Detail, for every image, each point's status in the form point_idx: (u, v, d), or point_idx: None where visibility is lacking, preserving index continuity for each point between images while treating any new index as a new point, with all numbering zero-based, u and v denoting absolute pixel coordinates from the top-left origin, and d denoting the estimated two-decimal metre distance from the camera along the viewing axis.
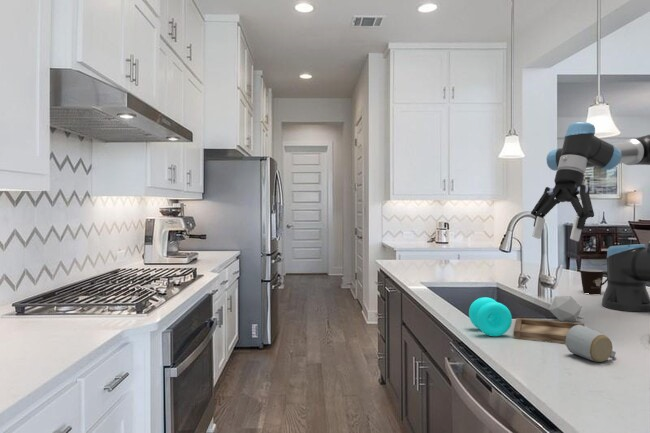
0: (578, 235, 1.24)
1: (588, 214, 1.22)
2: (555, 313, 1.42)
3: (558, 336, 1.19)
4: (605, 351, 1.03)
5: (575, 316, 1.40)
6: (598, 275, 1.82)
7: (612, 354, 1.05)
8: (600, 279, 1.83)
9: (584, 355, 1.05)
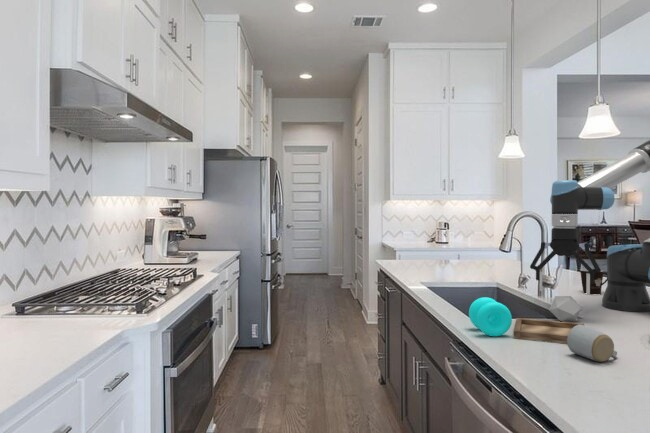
0: None
1: (599, 271, 1.38)
2: (555, 313, 1.42)
3: (558, 336, 1.19)
4: (607, 351, 1.03)
5: (575, 316, 1.40)
6: (598, 275, 1.82)
7: (614, 354, 1.05)
8: (600, 279, 1.83)
9: (586, 355, 1.05)
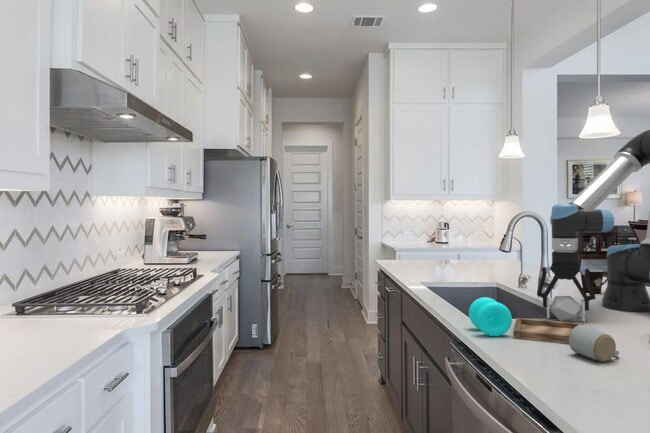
0: None
1: (594, 298, 1.39)
2: (555, 313, 1.42)
3: (558, 336, 1.19)
4: (609, 350, 1.03)
5: (575, 316, 1.40)
6: (598, 275, 1.82)
7: (615, 354, 1.05)
8: (600, 279, 1.83)
9: (587, 355, 1.05)
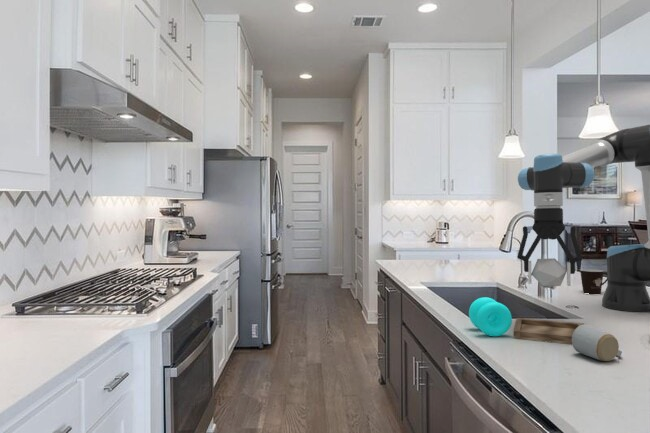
0: None
1: (580, 260, 1.23)
2: (537, 277, 1.27)
3: (558, 336, 1.19)
4: (612, 350, 1.03)
5: (559, 280, 1.24)
6: (598, 275, 1.82)
7: (618, 353, 1.05)
8: (600, 279, 1.83)
9: (590, 354, 1.05)
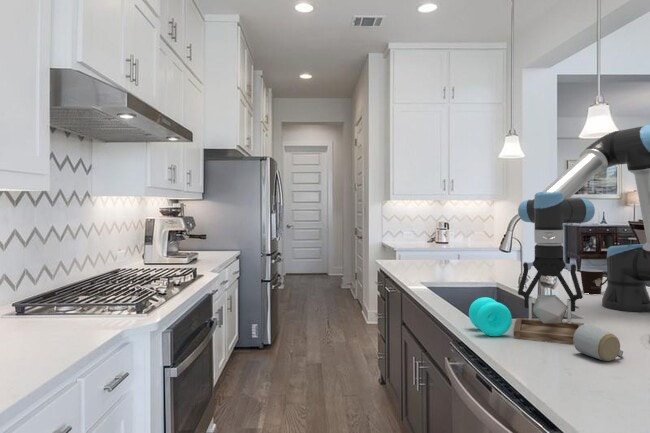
0: None
1: None
2: (538, 314, 1.27)
3: (558, 336, 1.19)
4: (613, 350, 1.04)
5: (560, 317, 1.24)
6: (598, 275, 1.82)
7: (620, 353, 1.05)
8: (600, 279, 1.83)
9: (592, 354, 1.05)
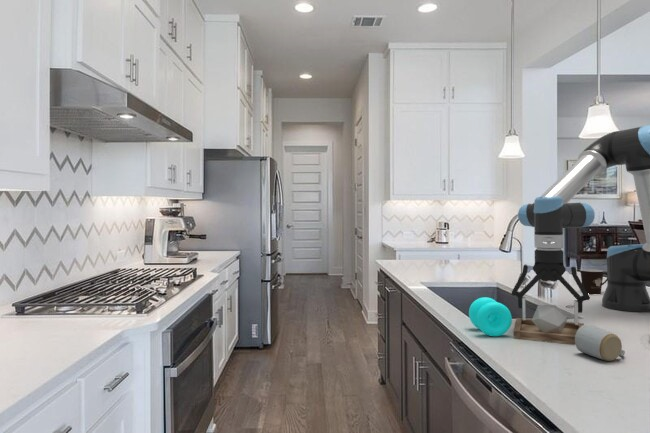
0: None
1: (588, 299, 1.22)
2: (538, 324, 1.27)
3: (558, 336, 1.19)
4: (615, 350, 1.04)
5: (560, 328, 1.24)
6: (598, 275, 1.82)
7: (621, 353, 1.05)
8: (600, 279, 1.83)
9: (593, 354, 1.05)
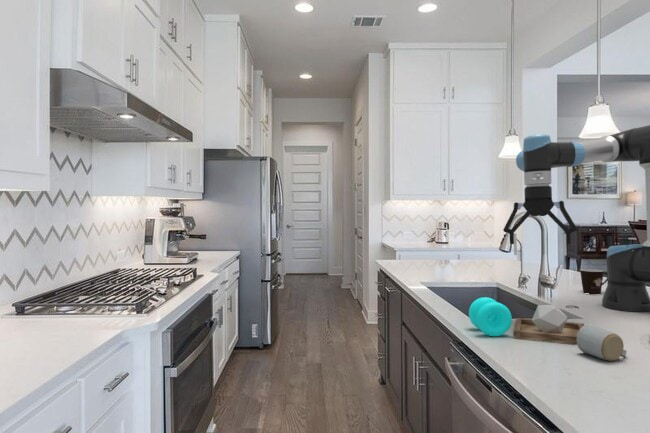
0: None
1: None
2: (538, 324, 1.27)
3: (558, 336, 1.19)
4: (616, 350, 1.04)
5: (560, 328, 1.24)
6: (598, 275, 1.82)
7: (623, 353, 1.06)
8: (600, 279, 1.83)
9: (595, 354, 1.05)
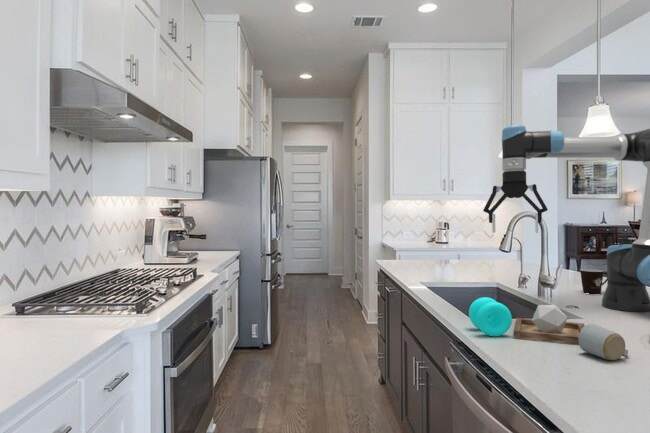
0: None
1: (546, 210, 1.45)
2: (538, 324, 1.27)
3: (558, 336, 1.19)
4: (618, 349, 1.04)
5: (560, 328, 1.24)
6: (598, 275, 1.82)
7: (625, 352, 1.06)
8: (600, 279, 1.83)
9: (597, 353, 1.05)
